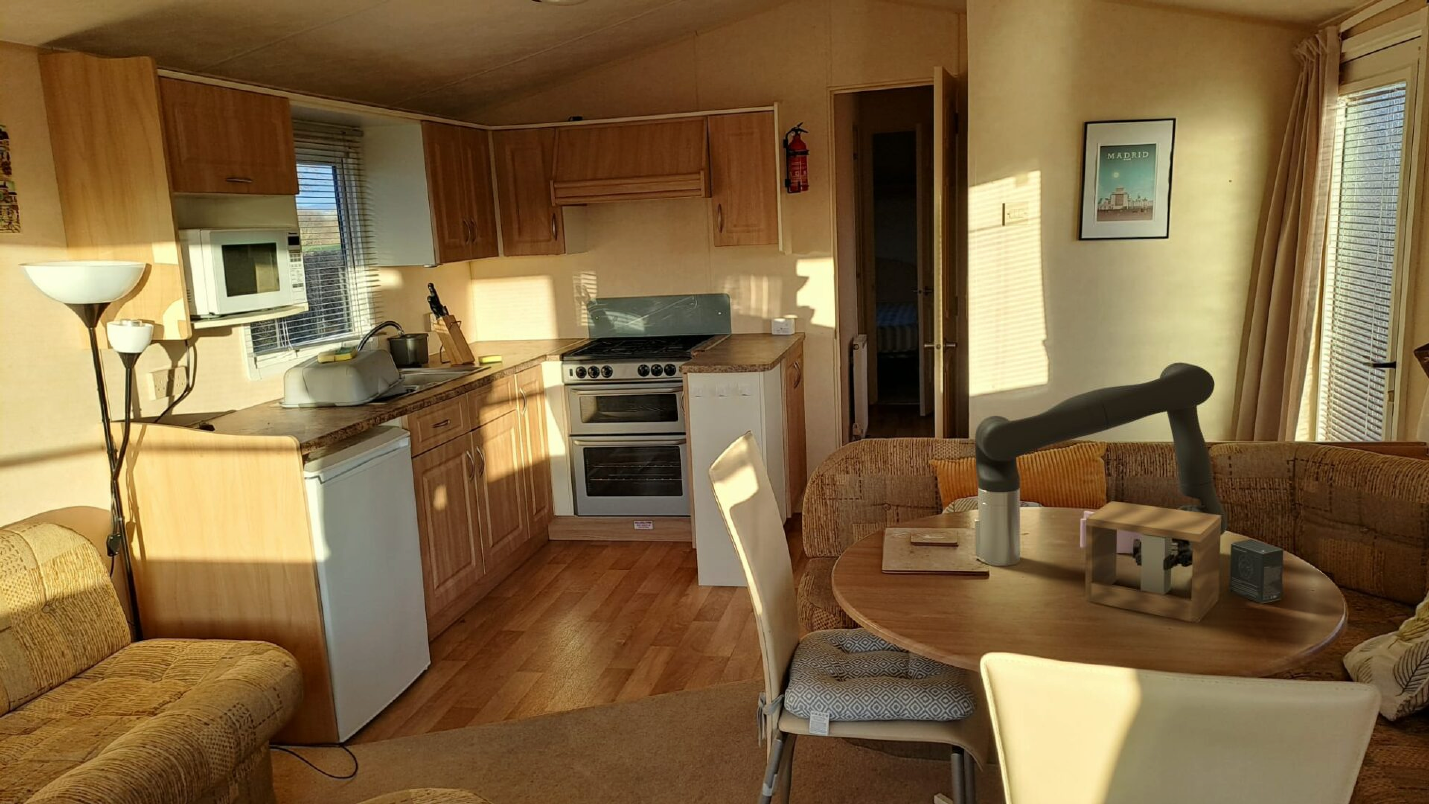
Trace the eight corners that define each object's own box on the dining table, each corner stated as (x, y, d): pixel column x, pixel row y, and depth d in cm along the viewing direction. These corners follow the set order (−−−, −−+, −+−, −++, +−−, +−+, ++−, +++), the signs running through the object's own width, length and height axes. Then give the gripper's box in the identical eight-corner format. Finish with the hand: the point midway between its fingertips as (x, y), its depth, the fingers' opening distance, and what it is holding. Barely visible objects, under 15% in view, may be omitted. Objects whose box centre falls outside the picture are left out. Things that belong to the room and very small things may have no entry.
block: (1140, 591, 207) (1141, 534, 205) (1147, 584, 210) (1148, 528, 208) (1163, 595, 204) (1164, 538, 202) (1170, 588, 207) (1172, 532, 205)
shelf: (1085, 600, 207) (1086, 518, 204) (1110, 580, 217) (1111, 501, 214) (1197, 622, 193) (1200, 534, 190) (1218, 599, 204) (1221, 515, 201)
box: (1282, 599, 202) (1284, 548, 200) (1260, 604, 200) (1262, 553, 198) (1249, 587, 209) (1251, 538, 207) (1228, 592, 207) (1230, 542, 206)
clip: (1174, 542, 240) (1175, 514, 238) (1172, 559, 229) (1173, 529, 227) (1085, 535, 248) (1085, 508, 247) (1078, 551, 238) (1079, 522, 236)
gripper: (1143, 518, 220) (1116, 539, 208) (1214, 528, 211) (1190, 551, 198) (1143, 551, 222) (1115, 574, 209) (1213, 563, 212) (1189, 587, 200)
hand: (1152, 563), depth 204 cm, fingers closed on block, 4 cm apart
